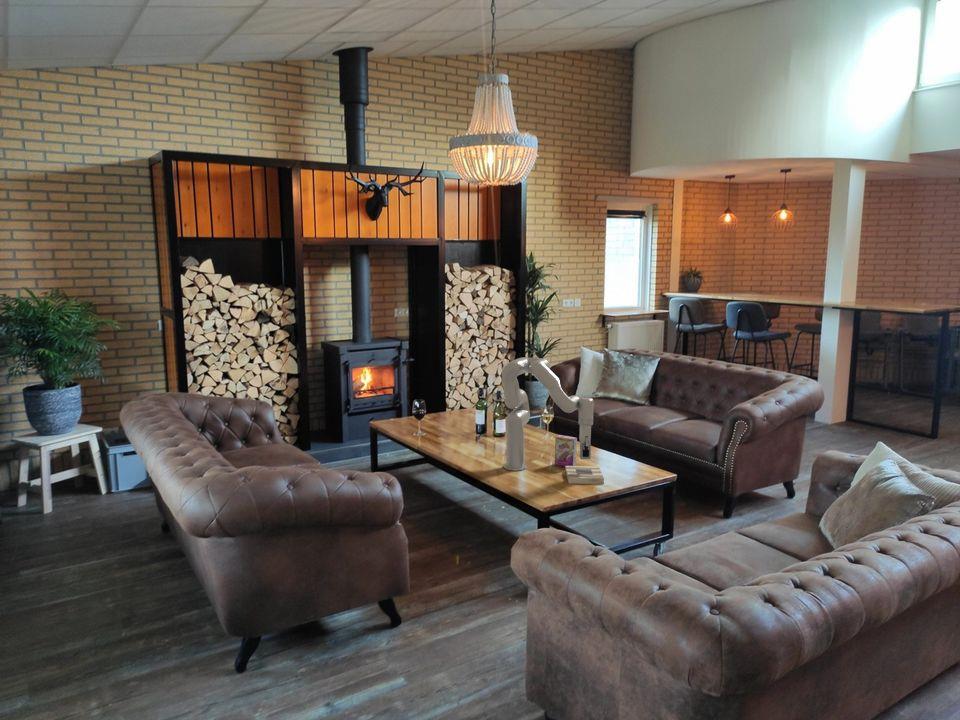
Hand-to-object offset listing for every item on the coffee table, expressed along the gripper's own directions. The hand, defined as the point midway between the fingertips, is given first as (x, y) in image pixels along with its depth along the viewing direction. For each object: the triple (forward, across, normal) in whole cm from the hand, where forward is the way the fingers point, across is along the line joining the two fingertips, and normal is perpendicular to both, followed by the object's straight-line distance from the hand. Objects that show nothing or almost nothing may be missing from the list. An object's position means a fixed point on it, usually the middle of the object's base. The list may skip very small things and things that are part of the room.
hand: (585, 454), depth 373 cm
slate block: (+2, 0, 0) cm, 2 cm away
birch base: (+12, 0, 0) cm, 12 cm away
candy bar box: (+12, -20, -8) cm, 25 cm away
